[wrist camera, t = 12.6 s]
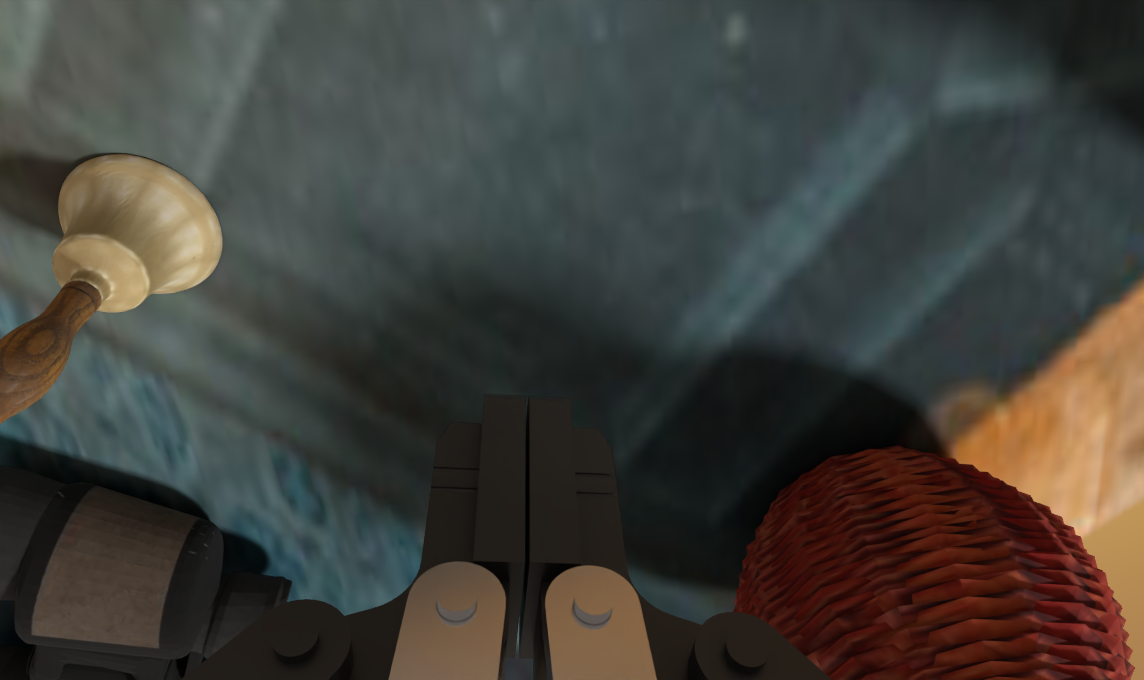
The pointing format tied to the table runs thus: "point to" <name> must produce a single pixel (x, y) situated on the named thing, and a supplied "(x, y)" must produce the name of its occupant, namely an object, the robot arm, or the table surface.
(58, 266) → the hand bell
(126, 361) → the table surface
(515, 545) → the robot arm
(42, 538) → the binoculars
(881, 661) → the vase
